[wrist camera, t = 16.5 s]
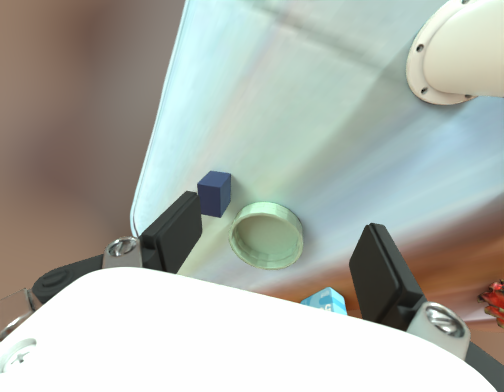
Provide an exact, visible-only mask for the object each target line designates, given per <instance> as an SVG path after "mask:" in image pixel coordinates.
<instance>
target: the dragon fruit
mask: <svg viewBox="0 0 504 392" xmlns="http://www.w3.org/2000/svg"><path fill="white" fill-rule="evenodd" d="M500 281H501V283H498V282H494V283H493V284H492V285H489V290H490V288H491V289H493V291H492V293H491V292H485V293H484V294H482V295H479V296H478V297H477V298H478V303H482V302H487V303H489V305H490V306H487V307H485V309H484V311H485V313H486V314H489V315H492V316H494V317H497V323H498V326H500V327H501V328H504V280H500Z"/></svg>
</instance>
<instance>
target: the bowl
mask: <svg viewBox="0 0 504 392" xmlns="http://www.w3.org/2000/svg"><path fill="white" fill-rule="evenodd" d="M229 243H230V245H231V248H232V250H233V251H234V252H235V254H236V255H237V256H238V257H239V258H240V259H241V260H243V261H244V262H245V263H247V264H249V265H251V266H253V267H256V268H260V269H265V270H278V269H282V268H286V267H288V266H290V265H292V264H294V263H295V262H296V261H297V260H298V258H299V257H300V256H301V253H302V250H303V230H302V225H301V223H300V222H299V220H298V218H297V217H296V216H295V215H294V214H293V213H292V212H291V211H290V210H289V209H287V208H285V207H283V206H280V205H278V204H274V203H269V202H259V203H253V204H250V205H248V206H246V207H244V208H243V209H242V210H241V211H240V212H239V213H238V214H237V215H236V218H235V220H234V222H233V224H232V226H231V228H230V230H229Z"/></svg>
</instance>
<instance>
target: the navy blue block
mask: <svg viewBox="0 0 504 392" xmlns="http://www.w3.org/2000/svg"><path fill="white" fill-rule="evenodd" d="M197 188H198V195H199V196H200V206H201V214H203V215H208V216H213V217H219V218H221V217H222V215H223V213H224V212H225V210H226V208H227V206H228V205H229V203H230V193H231V174H229V173H222V172H216V171H210V172H209V173H208V174H207V175H206V176H205V177H204V178H203V179H202V180H201V181H199V182H198V183H197Z"/></svg>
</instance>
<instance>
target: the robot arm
mask: <svg viewBox="0 0 504 392" xmlns="http://www.w3.org/2000/svg"><path fill="white" fill-rule="evenodd" d="M461 1H462V0H450V1H449V2H447V3H446V4H445V5H443V6H442V7H441V8H439V9H438V10H437V11H436V12H435V13H434V14H433V15H432V16H431V17H430V18H429V19H428V21H427V22H426V23H425V25H424V26H423V27H422V28H421V30H420V31H419V33H418V35H417V36H416V38H415V40H414V42H413V44H412V46H411V49H410V51H409V55H408V59H407V64H406V76H407V82H408V84H409V87H410V89H411V90H412V91H413V93H414V94H415V95H416V96H417V97H419V98H420V99H421V100H423V101H426V102H428V103H432V104H439V105H451V104H458V103H462V102H466V101H468V100H471V99H473V98H476V97H478V96H492V97H504V0H463V3H461ZM417 47H418V48H419V50H418V51H416V48H417ZM422 89H423V92H422V93H421V91H422ZM465 94H466V95H465ZM201 234H202V220H201V206H200V196H199V195H197V193H196V192H191V191H186V192H185V193H184V194H182V195H181V196H180V197H179V198H178V199H177V200H176V201H175V202H174V203H173V204H172V205H171V206H170V207H169V208H168V209H167V210H166V211H165V212H164V213H163V214H161V215H160V216H159V217H158V218H157V219H156V220H155V221H154V222H153V223H152V224H151V225H150V226H149V227H148V228H147V229H146V230H145V231H144V232H143V233H142V234H141V235H140V236H139V237H138V238H137V237H133V236H126V237H121V238H118V239H116V240H114V241H112V242H111V243H110V244H108V246H107V247H106V248H105V250H104V254H101V255H98V256H95V257H92V258H89V259H85V260H82V261H79V262H75V263H72V264H69V265H65V266H63V267H59V268H57V269H54V270H51V271H50V272H48V273H46V274H44V275H43V276H42V277H40V278H39V279H38V280H37V281H36V282H35V283H34V286H33V287H32V288H31V289H29V290H27V289H26V288H24V289H22V290H20V291H18V292H16V293H13V294H11V295H9V296H7V297H5V298H3V299H1V300H0V392H504V365H502V364H501V363H499V362H498V361H497V360H495V359H494V358H493V357H491V356H490V355H489V354H487V353H486V352H485V351H483V350H482V349H481V348H479V347H478V346H476V345H475V344H474V343H473V342H471V341H470V339H471V333H470V331H469V329H468V327H467V325H466V324H465V323H464V321H463V320H462V319H461V318H460V317H459V316H458V315H457V314H455V313H454V312H453V311H451V310H450V309H448V308H447V307H445V306H443V305H441V304H438V303H435V302H428V301H427V299H426V297H425V296H424V294H423V292H422V290H421V288H420V287H419V285H418V283H417V282H416V280H415V278H414V276H413V275H412V273H411V271H410V269H409V268H408V266H407V264H406V262H405V261H404V259H403V257H402V255H401V254H400V252H399V250H398V248H397V247H396V245H395V243H394V241H393V240H392V238H391V236H390V234H389V233H388V231H387V229H386V227H385V226H384V225H381V224H375V223H370V224H369V225H366V226H365V228H364V230H363V232H362V235H361V237H360V239H359V241H358V243H357V246H356V248H355V250H354V252H353V254H352V257H351V259H350V262H349V267H350V271H351V275H352V279H353V283H354V287H355V291H356V295H357V298H358V302H359V306H360V310H361V314H362V318H363V320H362V319H358V318H354V317H350V316H347V315H343V314H339V313H335V312H331V311H327V310H323V309H318V308H314V307H310V306H306V305H302V304H298V303H294V302H290V301H286V300H282V299H278V298H274V297H269V296H265V295H261V294H257V293H253V292H249V291H244V290H240V289H236V288H232V287H228V286H223V285H219V284H215V283H211V282H206V281H202V280H198V279H194V278H189V277H185V276H180V275H176V273H177V272H178V270H179V269H180V267H181V266H182V264H183V263H184V261H185V260H186V258H187V257H188V255H189V253H190V252H191V250H192V249H193V247H194V246H195V244H196V243H197V241H198V240H199V238H200V237H201Z"/></svg>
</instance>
